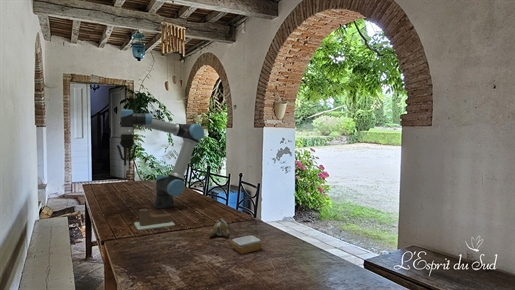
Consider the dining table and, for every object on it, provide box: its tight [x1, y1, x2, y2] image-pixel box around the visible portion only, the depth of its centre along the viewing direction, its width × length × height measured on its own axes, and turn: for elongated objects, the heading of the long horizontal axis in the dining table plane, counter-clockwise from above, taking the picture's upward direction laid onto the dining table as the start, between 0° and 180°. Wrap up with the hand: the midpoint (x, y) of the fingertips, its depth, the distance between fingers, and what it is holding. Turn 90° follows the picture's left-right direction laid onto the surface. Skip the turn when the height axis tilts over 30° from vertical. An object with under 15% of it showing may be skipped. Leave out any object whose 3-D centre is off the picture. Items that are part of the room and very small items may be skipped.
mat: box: [133, 220, 176, 231], centre depth 195 cm, size 21×15×1 cm
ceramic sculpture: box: [208, 217, 230, 237], centre depth 177 cm, size 11×9×15 cm
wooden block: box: [138, 208, 172, 226], centre depth 195 cm, size 9×4×18 cm
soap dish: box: [230, 235, 263, 255], centre depth 156 cm, size 12×10×5 cm
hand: (127, 170), depth 209 cm, fingers closed
